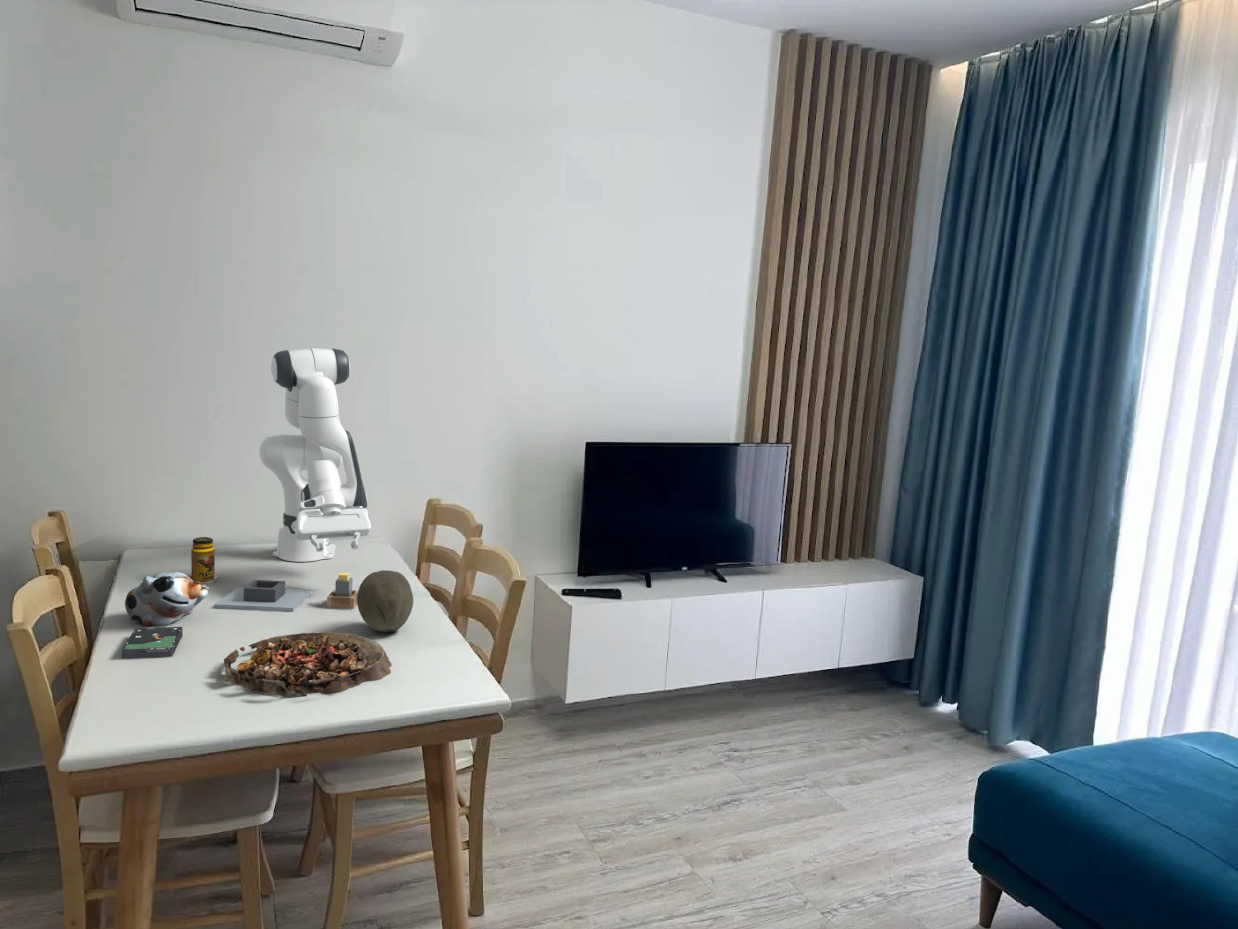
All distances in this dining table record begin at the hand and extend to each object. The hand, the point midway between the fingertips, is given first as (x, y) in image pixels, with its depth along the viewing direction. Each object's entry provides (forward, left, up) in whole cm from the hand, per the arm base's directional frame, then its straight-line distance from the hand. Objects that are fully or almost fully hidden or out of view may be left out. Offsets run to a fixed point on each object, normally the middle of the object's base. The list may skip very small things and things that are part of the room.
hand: (337, 549), depth 256 cm
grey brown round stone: (+26, +19, -14) cm, 35 cm away
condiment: (-10, -41, -14) cm, 45 cm away
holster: (+7, +4, -13) cm, 15 cm away
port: (+7, -17, -13) cm, 23 cm away
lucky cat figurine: (+25, -35, -14) cm, 45 cm away
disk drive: (+44, -30, -14) cm, 55 cm away
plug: (+7, +4, -13) cm, 16 cm away
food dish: (+54, +9, -14) cm, 56 cm away
